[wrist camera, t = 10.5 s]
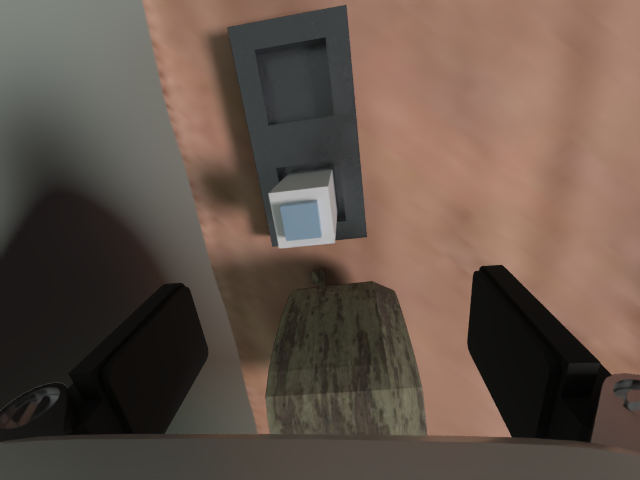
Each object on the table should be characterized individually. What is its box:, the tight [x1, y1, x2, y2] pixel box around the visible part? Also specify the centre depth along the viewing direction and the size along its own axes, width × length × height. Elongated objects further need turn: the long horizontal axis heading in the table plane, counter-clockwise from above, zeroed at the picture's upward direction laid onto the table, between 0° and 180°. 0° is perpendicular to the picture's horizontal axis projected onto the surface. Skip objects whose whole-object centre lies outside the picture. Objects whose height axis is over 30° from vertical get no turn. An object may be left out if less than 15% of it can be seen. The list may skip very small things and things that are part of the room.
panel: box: [227, 5, 367, 247], centre depth 27 cm, size 18×9×3 cm, turn 8°
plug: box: [268, 167, 337, 249], centre depth 25 cm, size 4×4×10 cm
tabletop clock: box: [265, 269, 427, 436], centre depth 24 cm, size 14×9×25 cm, turn 9°
